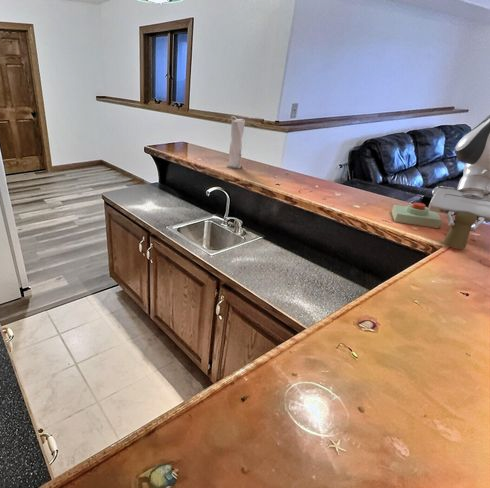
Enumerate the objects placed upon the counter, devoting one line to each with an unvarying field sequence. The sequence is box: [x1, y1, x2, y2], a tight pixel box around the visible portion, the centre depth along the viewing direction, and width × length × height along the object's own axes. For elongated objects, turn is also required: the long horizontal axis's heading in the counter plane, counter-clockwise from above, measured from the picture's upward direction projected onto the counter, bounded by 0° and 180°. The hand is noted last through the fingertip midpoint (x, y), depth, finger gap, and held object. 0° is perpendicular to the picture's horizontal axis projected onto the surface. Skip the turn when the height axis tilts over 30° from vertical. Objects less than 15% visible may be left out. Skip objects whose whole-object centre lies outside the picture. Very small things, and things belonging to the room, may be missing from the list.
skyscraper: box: [227, 115, 246, 170], centre depth 199 cm, size 8×8×28 cm
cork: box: [442, 211, 477, 250], centre depth 111 cm, size 6×6×11 cm
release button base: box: [391, 204, 443, 229], centre depth 133 cm, size 14×11×5 cm
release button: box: [411, 202, 427, 210], centre depth 132 cm, size 4×4×2 cm
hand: (461, 228), depth 110 cm, fingers closed on cork, 4 cm apart
